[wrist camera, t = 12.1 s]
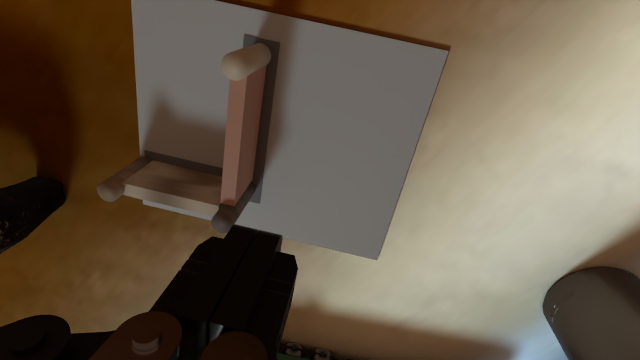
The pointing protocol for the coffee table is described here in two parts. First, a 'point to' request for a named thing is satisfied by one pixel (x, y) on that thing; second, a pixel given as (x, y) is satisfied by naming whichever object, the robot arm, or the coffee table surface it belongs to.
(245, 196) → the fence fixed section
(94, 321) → the coffee table surface
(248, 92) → the panel
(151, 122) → the card
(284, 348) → the toy train
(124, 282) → the coffee table surface
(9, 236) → the black animal figurine
